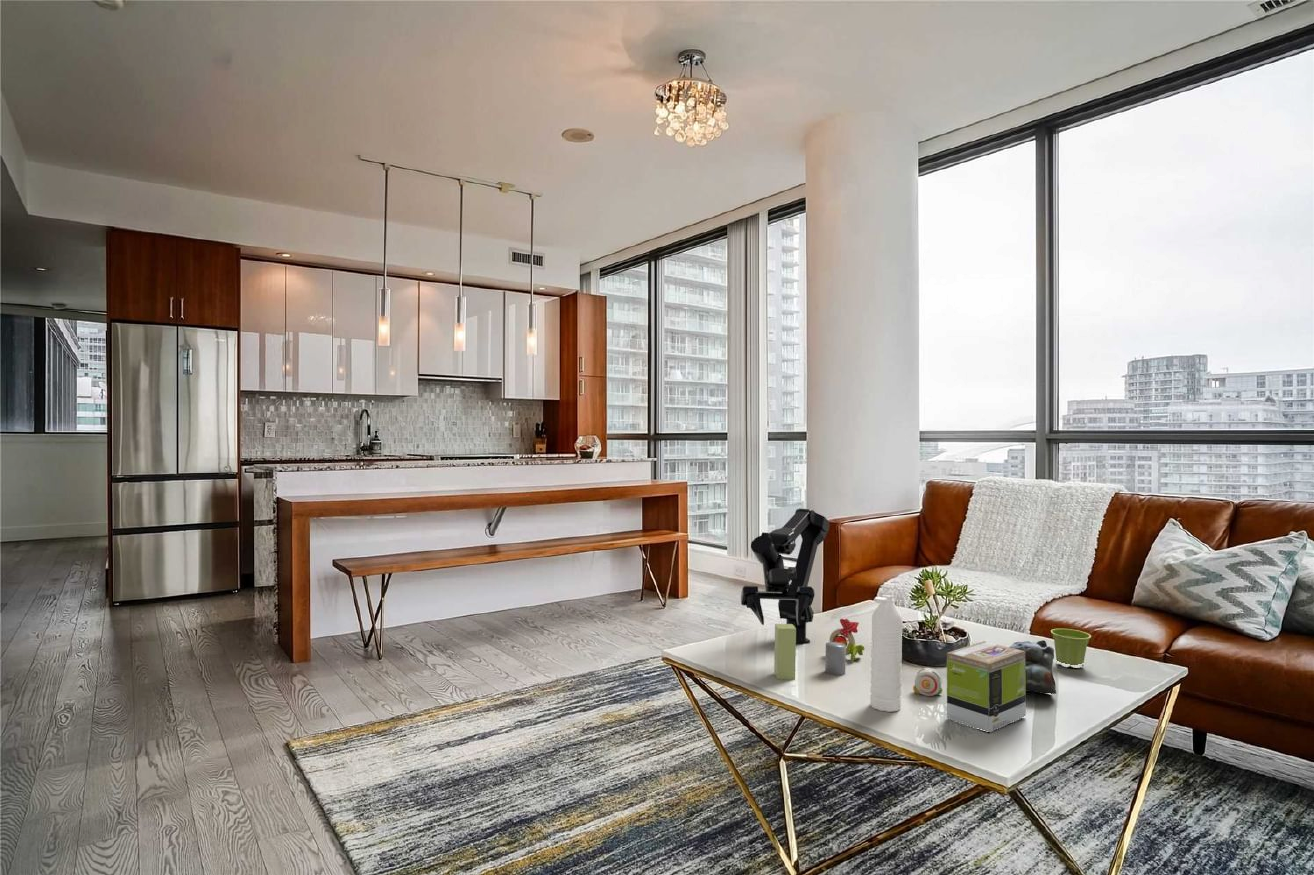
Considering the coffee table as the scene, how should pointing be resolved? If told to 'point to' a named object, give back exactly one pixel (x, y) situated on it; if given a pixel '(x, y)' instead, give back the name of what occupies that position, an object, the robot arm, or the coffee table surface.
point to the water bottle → (886, 655)
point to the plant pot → (1070, 645)
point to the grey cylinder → (835, 658)
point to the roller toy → (928, 682)
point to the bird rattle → (847, 632)
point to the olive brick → (785, 651)
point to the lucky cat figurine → (1038, 666)
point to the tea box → (986, 685)
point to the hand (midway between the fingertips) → (780, 624)
